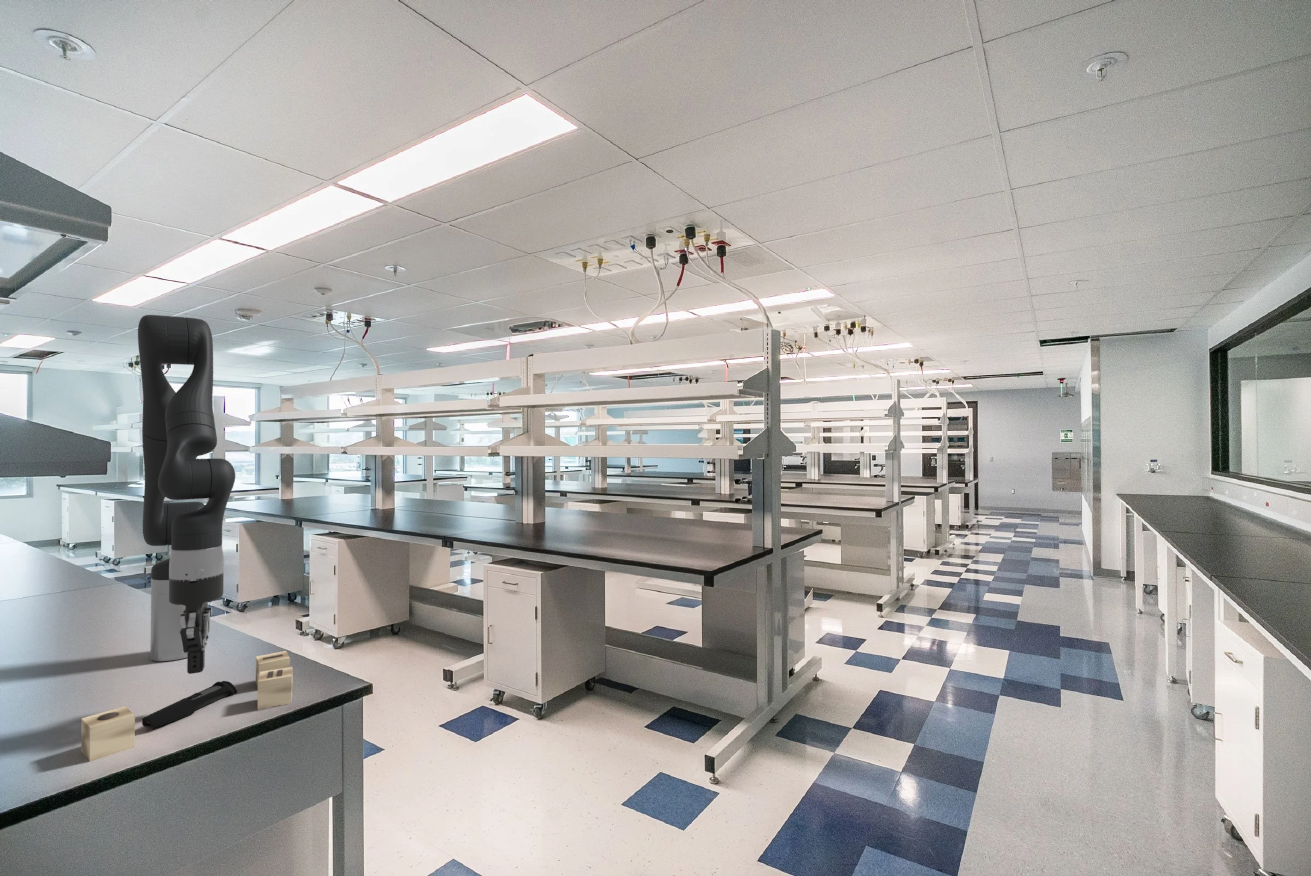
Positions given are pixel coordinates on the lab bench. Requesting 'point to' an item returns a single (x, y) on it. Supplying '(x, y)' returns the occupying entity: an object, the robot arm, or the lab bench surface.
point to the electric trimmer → (189, 704)
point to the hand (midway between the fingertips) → (195, 671)
